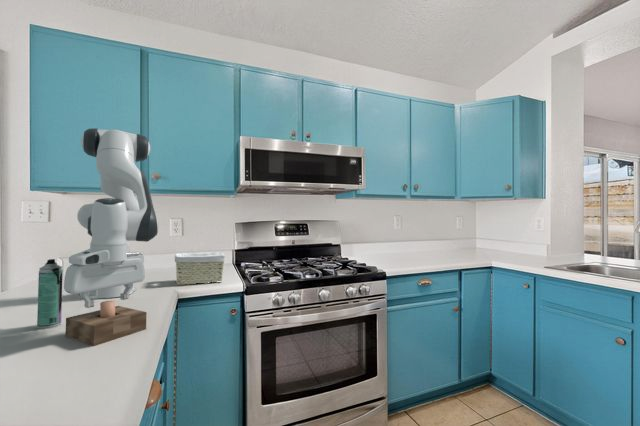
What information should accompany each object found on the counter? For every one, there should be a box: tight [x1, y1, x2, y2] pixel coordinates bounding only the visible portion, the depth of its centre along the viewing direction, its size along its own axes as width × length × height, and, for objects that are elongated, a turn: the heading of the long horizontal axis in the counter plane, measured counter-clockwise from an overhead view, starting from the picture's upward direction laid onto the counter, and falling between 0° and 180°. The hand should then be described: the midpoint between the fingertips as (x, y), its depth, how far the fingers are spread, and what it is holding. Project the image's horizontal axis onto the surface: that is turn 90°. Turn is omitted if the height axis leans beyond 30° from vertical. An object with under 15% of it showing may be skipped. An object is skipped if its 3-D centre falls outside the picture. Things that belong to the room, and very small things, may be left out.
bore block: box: [65, 305, 147, 347], centre depth 89 cm, size 14×14×5 cm
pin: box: [99, 300, 116, 318], centre depth 89 cm, size 4×4×7 cm
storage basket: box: [174, 251, 226, 286], centre depth 163 cm, size 24×16×15 cm
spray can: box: [36, 258, 64, 330], centre depth 95 cm, size 6×6×20 cm
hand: (107, 303), depth 90 cm, fingers open, 8 cm apart
